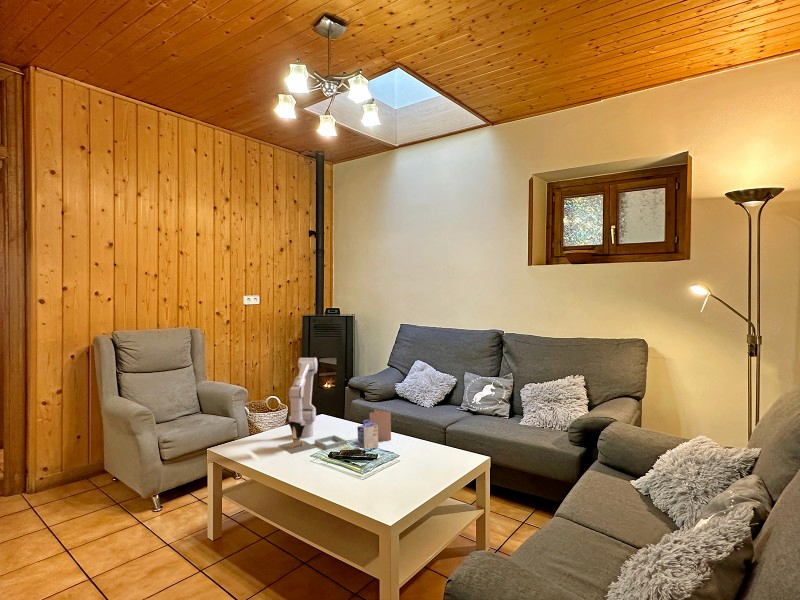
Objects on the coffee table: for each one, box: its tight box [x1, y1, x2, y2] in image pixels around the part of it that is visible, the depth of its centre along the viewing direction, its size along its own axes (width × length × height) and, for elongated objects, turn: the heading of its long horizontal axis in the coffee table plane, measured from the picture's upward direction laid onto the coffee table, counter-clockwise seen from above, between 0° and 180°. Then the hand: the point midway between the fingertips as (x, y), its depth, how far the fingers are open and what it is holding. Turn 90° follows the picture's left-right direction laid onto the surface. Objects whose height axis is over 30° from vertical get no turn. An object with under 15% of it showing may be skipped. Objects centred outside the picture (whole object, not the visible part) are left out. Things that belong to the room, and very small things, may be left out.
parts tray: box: [314, 435, 348, 451], centre depth 235 cm, size 12×12×4 cm
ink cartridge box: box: [357, 419, 379, 449], centre depth 231 cm, size 10×6×14 cm, turn 136°
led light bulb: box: [292, 426, 302, 444], centre depth 232 cm, size 4×4×8 cm
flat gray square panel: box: [277, 439, 318, 455], centre depth 232 cm, size 16×14×4 cm
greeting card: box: [369, 409, 392, 441], centre depth 246 cm, size 11×7×15 cm, turn 54°
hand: (296, 436), depth 232 cm, fingers closed on led light bulb, 4 cm apart
